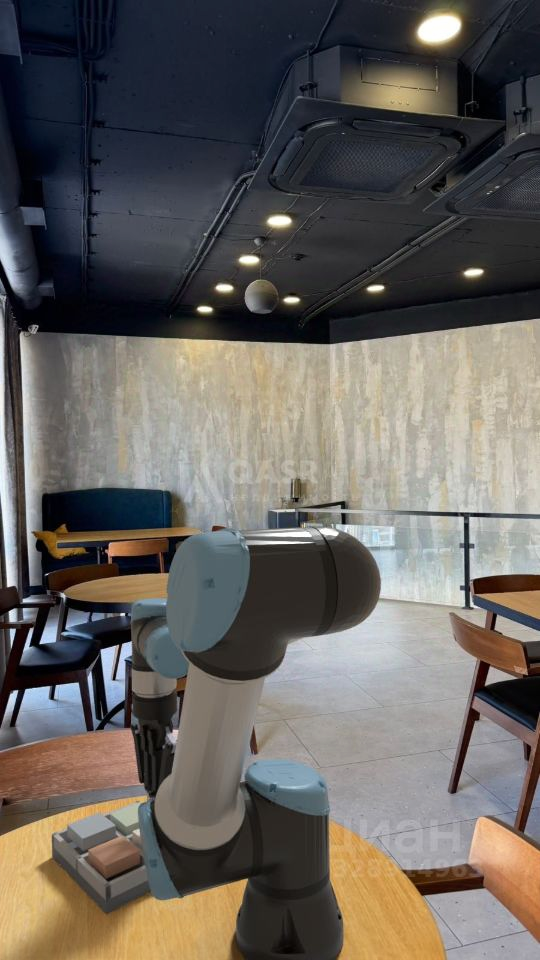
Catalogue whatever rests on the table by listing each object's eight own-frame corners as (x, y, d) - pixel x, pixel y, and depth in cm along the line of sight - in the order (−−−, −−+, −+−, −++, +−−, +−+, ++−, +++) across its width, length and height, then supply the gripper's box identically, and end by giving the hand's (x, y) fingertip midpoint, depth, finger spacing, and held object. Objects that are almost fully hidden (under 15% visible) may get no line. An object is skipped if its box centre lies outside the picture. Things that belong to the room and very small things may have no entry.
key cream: (181, 843, 107) (181, 832, 107) (150, 858, 103) (150, 845, 103) (162, 830, 111) (162, 818, 111) (132, 843, 107) (132, 831, 107)
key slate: (116, 837, 108) (115, 825, 108) (82, 851, 104) (82, 838, 104) (99, 823, 112) (99, 812, 112) (67, 836, 108) (67, 824, 108)
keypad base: (199, 867, 106) (199, 843, 106) (106, 914, 94) (105, 887, 94) (139, 821, 121) (138, 800, 121) (52, 857, 109) (51, 833, 109)
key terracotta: (140, 863, 102) (139, 850, 102) (105, 878, 98) (105, 865, 98) (121, 847, 106) (121, 835, 106) (88, 862, 102) (88, 849, 102)
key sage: (156, 825, 113) (156, 814, 113) (126, 838, 109) (126, 826, 109) (139, 813, 117) (139, 802, 117) (110, 824, 113) (110, 813, 113)
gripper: (194, 694, 105) (197, 837, 105) (153, 677, 115) (155, 808, 115) (155, 705, 100) (157, 855, 100) (116, 687, 110) (118, 823, 110)
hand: (156, 830), depth 107 cm, fingers closed
